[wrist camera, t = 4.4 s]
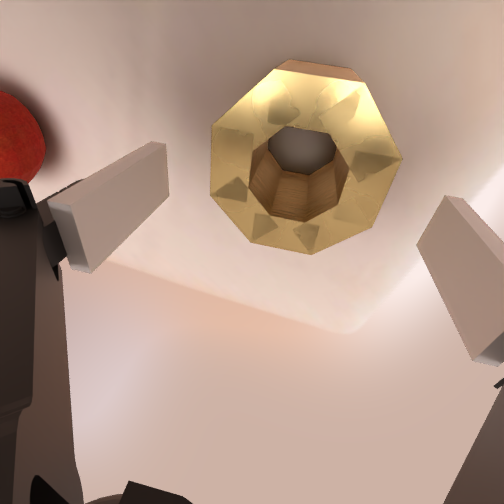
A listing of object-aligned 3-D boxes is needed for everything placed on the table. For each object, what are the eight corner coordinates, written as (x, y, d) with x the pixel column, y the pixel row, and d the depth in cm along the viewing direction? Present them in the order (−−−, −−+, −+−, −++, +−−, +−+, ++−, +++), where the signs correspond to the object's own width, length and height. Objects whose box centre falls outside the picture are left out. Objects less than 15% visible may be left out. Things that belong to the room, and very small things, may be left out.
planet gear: (235, 187, 23) (209, 233, 18) (246, 53, 17) (213, 59, 12) (347, 208, 22) (355, 264, 17) (395, 75, 17) (431, 93, 11)
